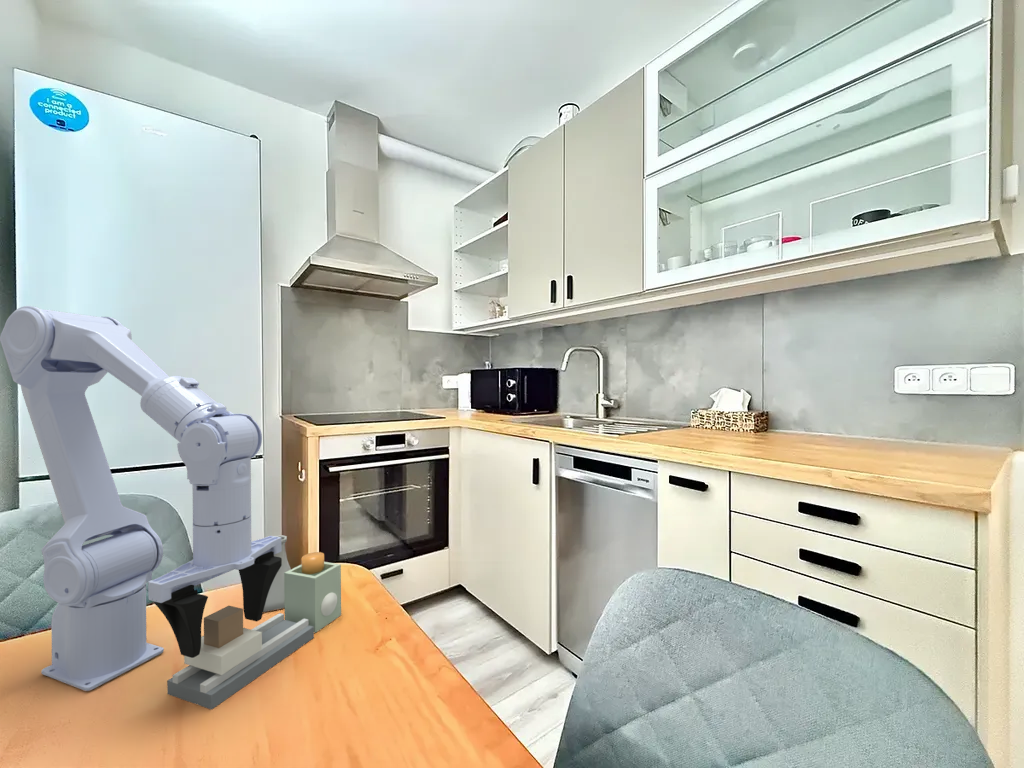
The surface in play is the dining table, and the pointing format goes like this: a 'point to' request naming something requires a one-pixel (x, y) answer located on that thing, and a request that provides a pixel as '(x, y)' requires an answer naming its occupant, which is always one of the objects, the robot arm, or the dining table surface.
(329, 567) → the cabinet
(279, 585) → the flask
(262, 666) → the rail track
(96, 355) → the robot arm
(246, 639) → the carriage
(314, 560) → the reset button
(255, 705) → the dining table surface
